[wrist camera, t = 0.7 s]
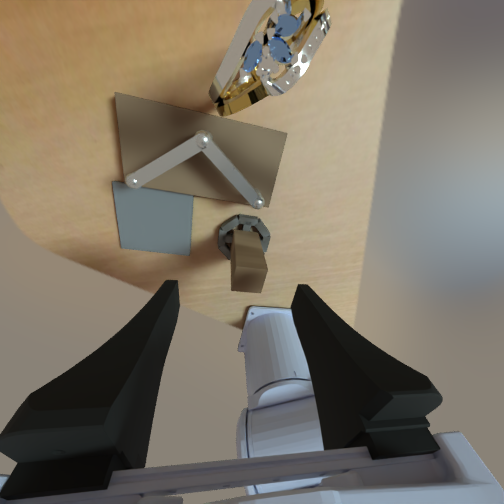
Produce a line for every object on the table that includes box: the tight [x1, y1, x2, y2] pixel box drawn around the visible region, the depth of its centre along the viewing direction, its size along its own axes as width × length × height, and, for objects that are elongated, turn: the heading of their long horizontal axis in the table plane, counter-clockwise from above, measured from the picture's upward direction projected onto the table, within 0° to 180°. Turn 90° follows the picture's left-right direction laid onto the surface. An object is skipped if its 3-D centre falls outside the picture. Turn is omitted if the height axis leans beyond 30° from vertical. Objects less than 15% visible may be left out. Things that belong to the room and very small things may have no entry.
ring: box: [208, 0, 332, 116], centre depth 11 cm, size 7×3×8 cm, turn 120°
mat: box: [112, 181, 193, 256], centre depth 20 cm, size 6×6×1 cm
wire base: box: [115, 92, 287, 207], centre depth 17 cm, size 6×12×1 cm, turn 78°
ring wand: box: [218, 214, 270, 293], centre depth 19 cm, size 5×5×7 cm
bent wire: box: [125, 130, 264, 209], centre depth 16 cm, size 5×10×4 cm, turn 78°
